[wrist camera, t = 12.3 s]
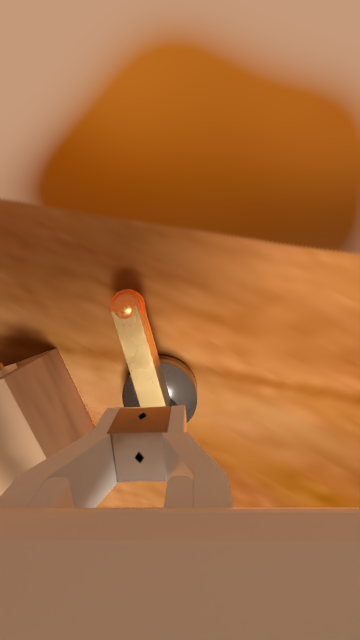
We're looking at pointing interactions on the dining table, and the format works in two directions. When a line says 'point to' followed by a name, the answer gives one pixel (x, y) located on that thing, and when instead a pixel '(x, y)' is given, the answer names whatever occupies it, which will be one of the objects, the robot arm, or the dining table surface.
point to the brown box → (37, 413)
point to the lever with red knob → (149, 360)
